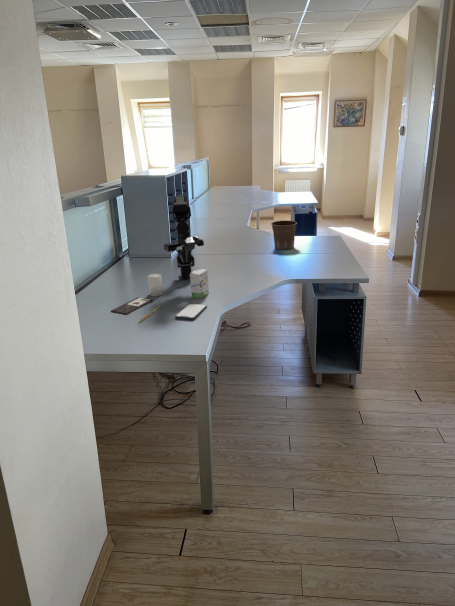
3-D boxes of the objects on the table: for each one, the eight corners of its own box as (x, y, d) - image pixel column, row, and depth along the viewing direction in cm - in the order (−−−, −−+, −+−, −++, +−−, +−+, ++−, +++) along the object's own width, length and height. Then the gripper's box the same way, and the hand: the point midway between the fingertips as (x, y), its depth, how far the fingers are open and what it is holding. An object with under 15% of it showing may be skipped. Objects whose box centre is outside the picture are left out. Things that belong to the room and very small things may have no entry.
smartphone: (189, 306, 197) (174, 319, 183) (189, 303, 196) (173, 316, 182) (208, 308, 194) (194, 321, 180) (207, 304, 194) (193, 317, 179)
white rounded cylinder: (147, 293, 214) (145, 275, 211) (160, 290, 217) (158, 273, 214) (152, 297, 209) (150, 278, 206) (165, 294, 212) (163, 276, 209)
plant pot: (290, 251, 276) (290, 226, 270) (267, 249, 284) (266, 224, 278) (300, 246, 289) (301, 221, 283) (278, 244, 297) (278, 219, 291)
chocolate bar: (110, 310, 194) (137, 297, 208) (111, 312, 194) (137, 299, 209) (126, 313, 190) (152, 299, 204) (126, 315, 190) (153, 301, 204)
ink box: (200, 298, 204) (198, 274, 200) (191, 297, 206) (189, 273, 202) (209, 293, 211) (207, 269, 207) (200, 291, 213) (198, 268, 209)
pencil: (139, 324, 180) (160, 308, 196) (139, 322, 179) (160, 306, 195) (136, 324, 180) (157, 308, 196) (136, 321, 180) (157, 306, 196)
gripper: (171, 235, 199) (174, 269, 204) (208, 229, 207) (210, 262, 213) (161, 232, 208) (165, 264, 213) (197, 226, 217) (199, 257, 222)
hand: (185, 262), depth 215 cm, fingers closed
